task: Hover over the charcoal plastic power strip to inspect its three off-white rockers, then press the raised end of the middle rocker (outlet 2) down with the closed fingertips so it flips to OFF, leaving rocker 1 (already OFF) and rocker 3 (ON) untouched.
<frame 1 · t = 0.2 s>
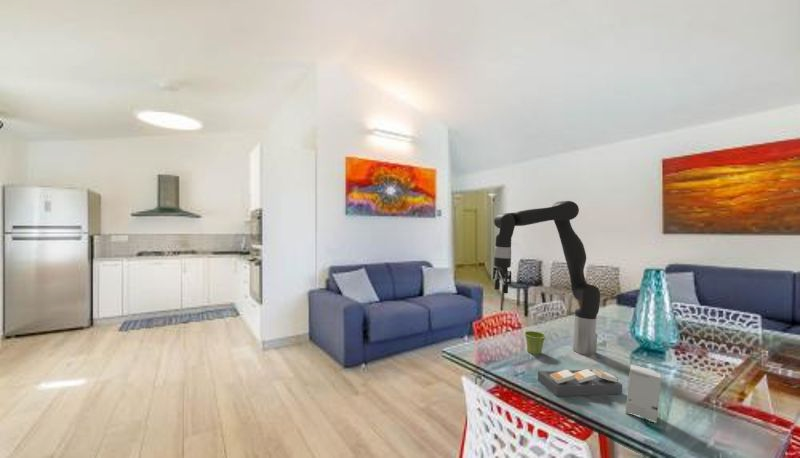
hand: (500, 291, 153), 29 cm above the table, fingers open, 8 cm apart
rocker 1: (604, 376, 122), point 5 cm above the table, hinge at -15.0°
rocker 3: (562, 377, 120), point 5 cm above the table, hinge at 15.0°
skincare box: (642, 416, 106), on the table
plant pot: (534, 352, 157), on the table
power strip: (578, 386, 124), on the table
rocker 2: (583, 377, 121), point 5 cm above the table, hinge at 15.0°
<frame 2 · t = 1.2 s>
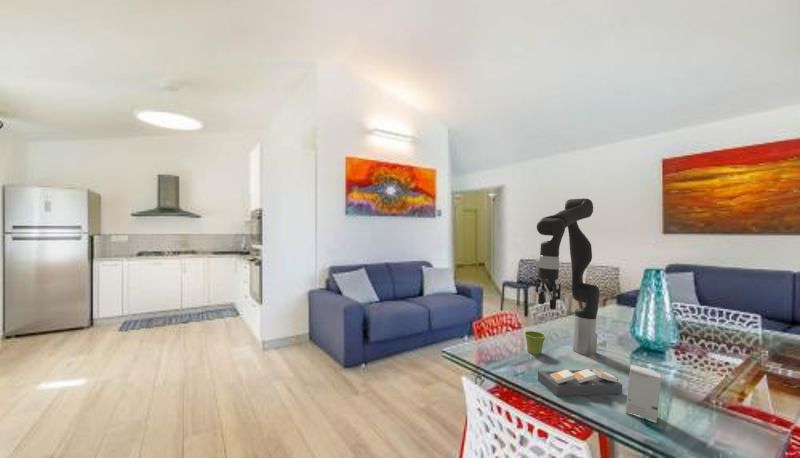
hand: (546, 306, 134), 27 cm above the table, fingers open, 8 cm apart
nothing on the table moved.
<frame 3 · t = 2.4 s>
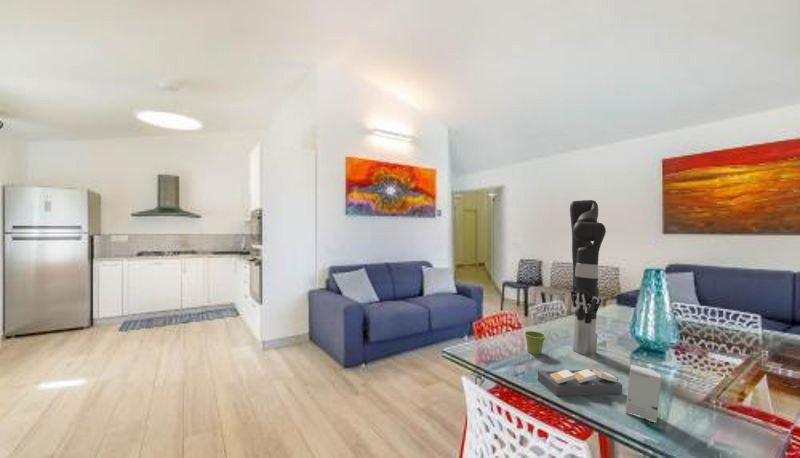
hand: (583, 321, 122), 25 cm above the table, fingers open, 3 cm apart
nothing on the table moved.
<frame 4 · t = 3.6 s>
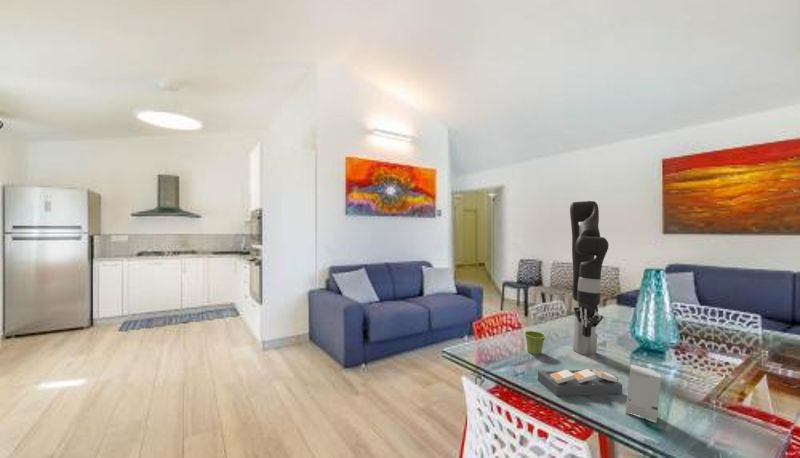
hand: (586, 336, 122), 20 cm above the table, fingers closed
nothing on the table moved.
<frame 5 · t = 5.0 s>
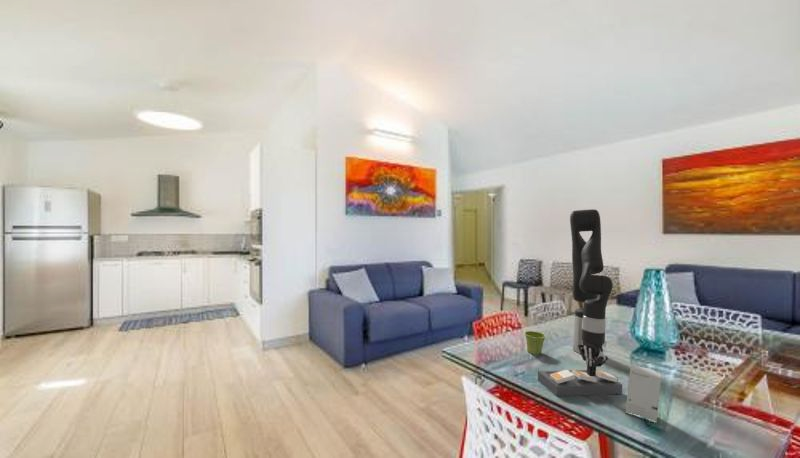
hand: (591, 375, 122), 6 cm above the table, fingers closed
rocker 2: (583, 377, 121), point 5 cm above the table, hinge at -12.9°, touching gripper
everything else where it was.
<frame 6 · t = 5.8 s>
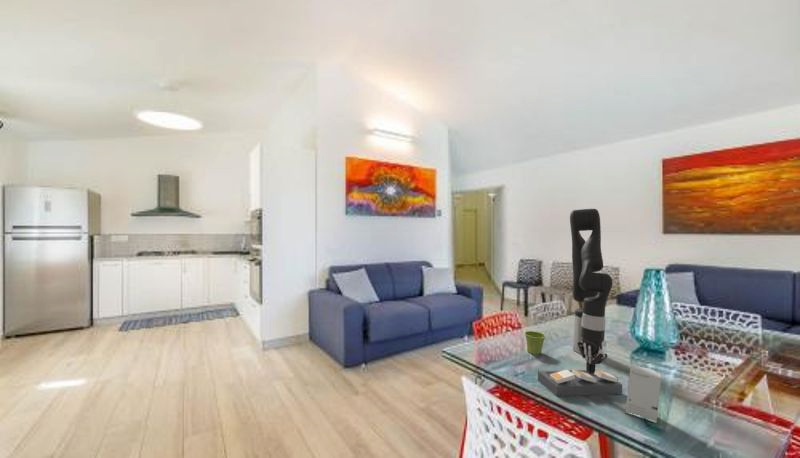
hand: (590, 372, 122), 6 cm above the table, fingers closed
rocker 2: (583, 377, 121), point 5 cm above the table, hinge at -16.6°
everything else where it was.
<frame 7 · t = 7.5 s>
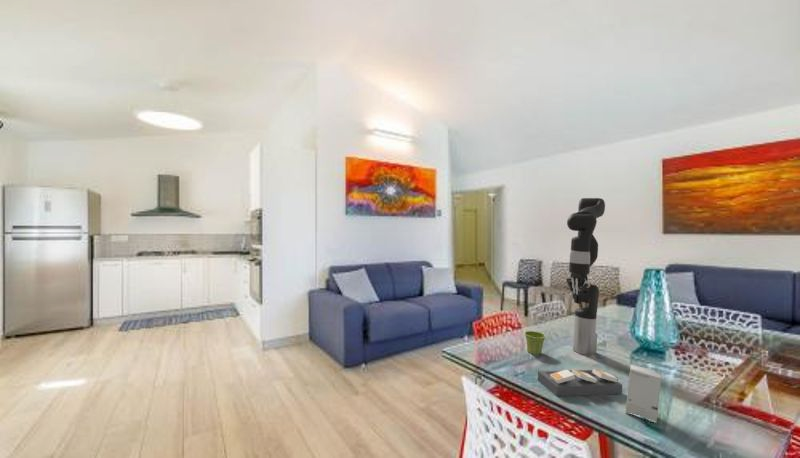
hand: (577, 303, 137), 29 cm above the table, fingers closed
nothing on the table moved.
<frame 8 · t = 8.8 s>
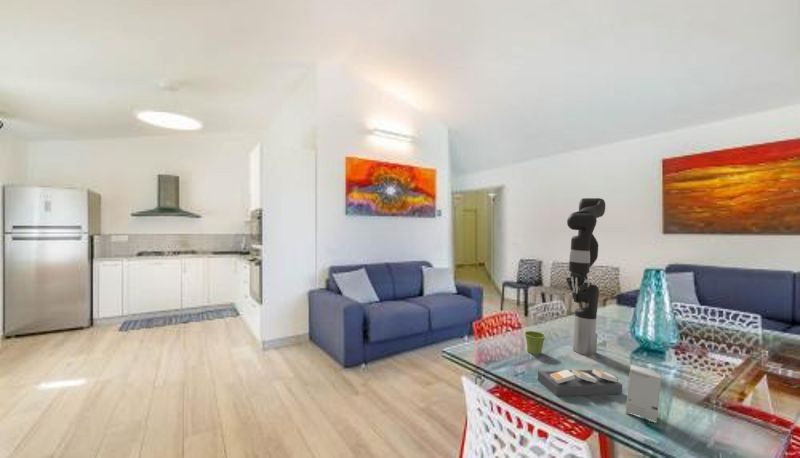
hand: (577, 302, 137), 29 cm above the table, fingers closed
nothing on the table moved.
at the end: rocker 2 at -17° (first picture: +15°); rocker 1 at -15° (first picture: -15°); rocker 3 at +15° (first picture: +15°) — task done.
